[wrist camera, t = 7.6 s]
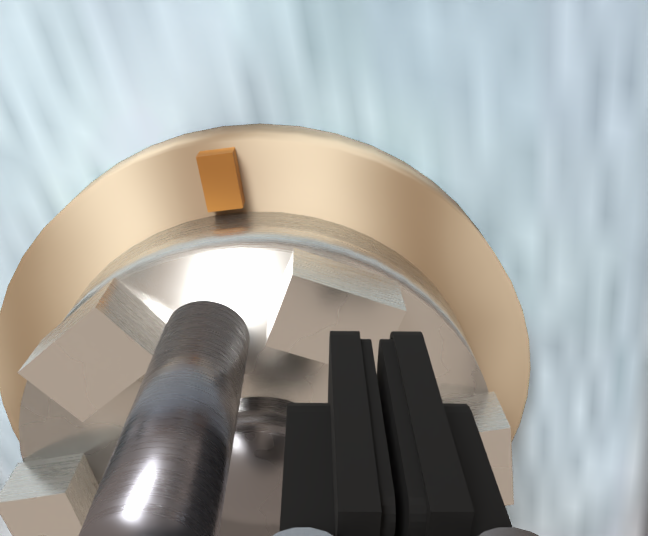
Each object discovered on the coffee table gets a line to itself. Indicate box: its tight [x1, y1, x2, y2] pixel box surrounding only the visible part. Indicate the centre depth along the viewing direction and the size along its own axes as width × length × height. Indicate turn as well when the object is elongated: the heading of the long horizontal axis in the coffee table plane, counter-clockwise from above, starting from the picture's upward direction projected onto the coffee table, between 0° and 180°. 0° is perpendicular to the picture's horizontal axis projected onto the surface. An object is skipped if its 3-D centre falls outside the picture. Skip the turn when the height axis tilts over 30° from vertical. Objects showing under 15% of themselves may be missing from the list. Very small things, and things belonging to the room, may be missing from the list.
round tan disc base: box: [0, 124, 530, 442], centre depth 21 cm, size 18×18×3 cm
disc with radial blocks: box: [0, 212, 514, 536], centre depth 16 cm, size 14×14×10 cm
